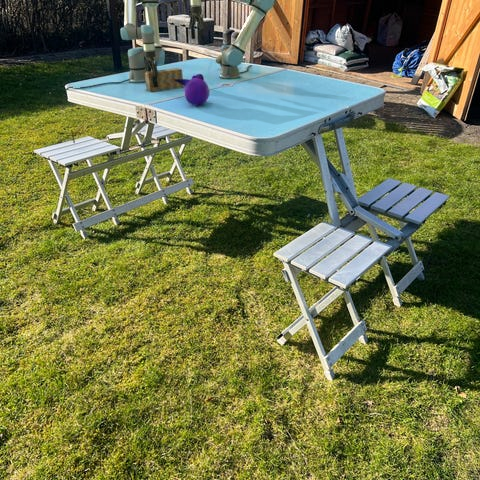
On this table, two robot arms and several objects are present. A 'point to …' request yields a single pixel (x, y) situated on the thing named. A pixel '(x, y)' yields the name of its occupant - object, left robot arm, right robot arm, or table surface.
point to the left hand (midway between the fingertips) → (153, 85)
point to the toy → (195, 89)
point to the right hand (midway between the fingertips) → (197, 39)
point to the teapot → (219, 60)
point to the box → (164, 79)
